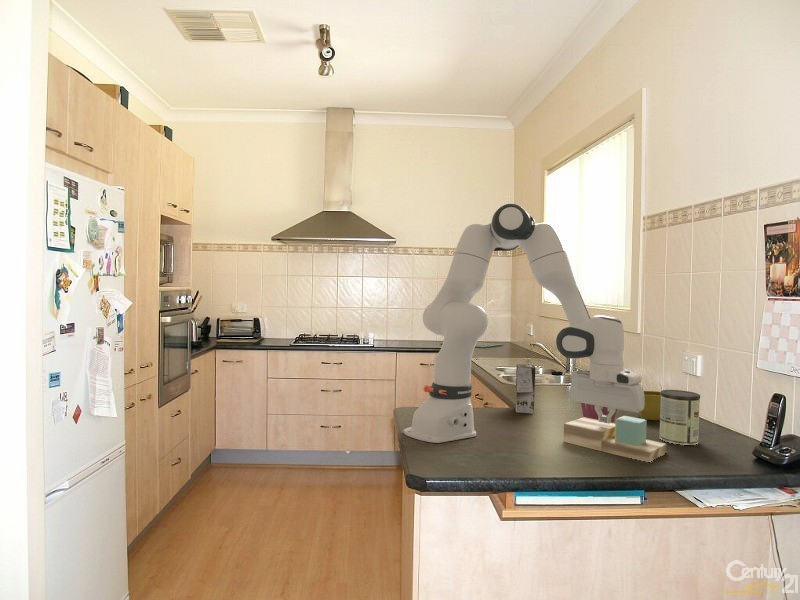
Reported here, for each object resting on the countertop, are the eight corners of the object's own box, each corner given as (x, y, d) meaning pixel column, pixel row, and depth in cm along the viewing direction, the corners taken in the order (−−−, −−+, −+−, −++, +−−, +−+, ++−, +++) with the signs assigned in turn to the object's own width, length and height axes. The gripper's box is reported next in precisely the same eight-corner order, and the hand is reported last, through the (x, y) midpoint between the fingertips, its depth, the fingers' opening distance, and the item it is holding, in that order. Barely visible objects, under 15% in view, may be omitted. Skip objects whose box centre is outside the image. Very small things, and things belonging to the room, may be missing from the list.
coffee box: (534, 414, 180) (535, 367, 180) (515, 412, 182) (516, 366, 181) (533, 408, 189) (534, 364, 189) (515, 407, 191) (516, 363, 190)
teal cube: (614, 441, 140) (637, 446, 136) (615, 419, 140) (638, 423, 136) (623, 436, 145) (645, 441, 141) (624, 415, 145) (646, 419, 140)
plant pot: (618, 430, 161) (620, 389, 161) (572, 423, 168) (573, 384, 168) (623, 420, 174) (625, 383, 174) (580, 415, 181) (581, 378, 181)
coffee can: (660, 433, 159) (661, 388, 159) (698, 439, 154) (700, 392, 153) (657, 441, 150) (659, 393, 150) (698, 448, 145) (700, 398, 144)
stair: (649, 463, 131) (650, 442, 131) (563, 441, 148) (564, 423, 148) (666, 453, 139) (666, 434, 139) (583, 434, 156) (583, 417, 156)
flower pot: (637, 420, 175) (638, 394, 175) (632, 414, 183) (633, 389, 183) (665, 423, 173) (666, 396, 172) (659, 416, 181) (660, 391, 181)
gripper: (566, 369, 150) (564, 416, 151) (638, 379, 136) (637, 432, 136) (576, 367, 155) (575, 413, 155) (647, 377, 140) (646, 427, 140)
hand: (604, 422), depth 145 cm, fingers closed
